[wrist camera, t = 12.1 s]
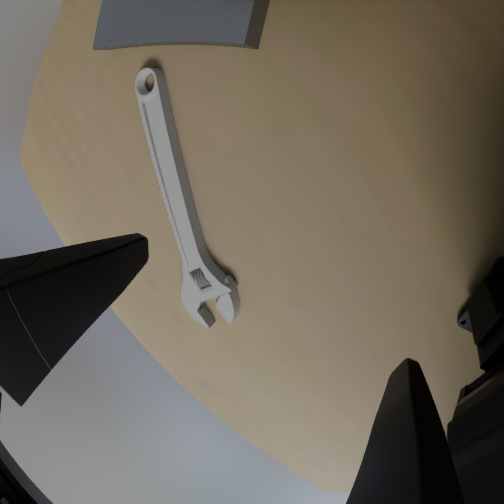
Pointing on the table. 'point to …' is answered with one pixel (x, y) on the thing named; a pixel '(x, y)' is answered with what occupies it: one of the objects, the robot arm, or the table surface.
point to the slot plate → (180, 23)
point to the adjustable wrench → (183, 207)
